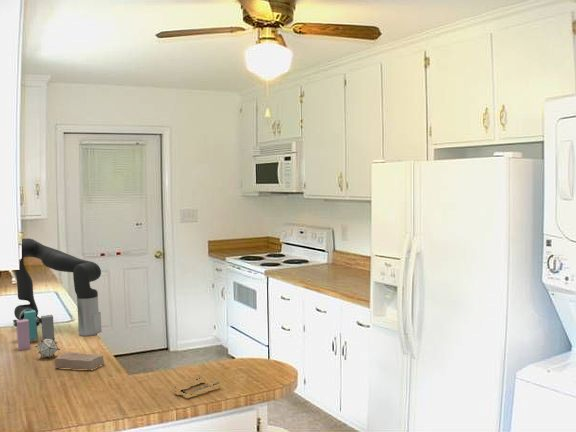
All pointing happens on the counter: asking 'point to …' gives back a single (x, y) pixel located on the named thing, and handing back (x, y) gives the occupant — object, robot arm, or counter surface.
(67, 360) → the brick
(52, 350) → the game die
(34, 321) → the teal block
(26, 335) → the plum block
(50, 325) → the charcoal block
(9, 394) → the counter surface
